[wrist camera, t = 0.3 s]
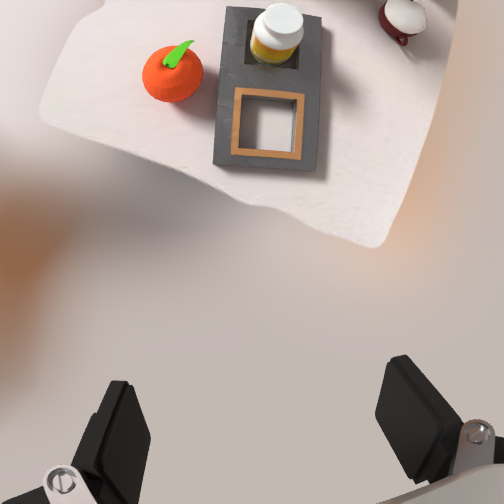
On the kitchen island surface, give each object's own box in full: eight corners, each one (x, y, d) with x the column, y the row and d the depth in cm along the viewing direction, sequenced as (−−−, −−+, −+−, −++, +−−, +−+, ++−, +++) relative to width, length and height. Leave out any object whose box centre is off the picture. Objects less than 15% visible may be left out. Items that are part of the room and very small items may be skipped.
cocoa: (400, 55, 34) (451, 35, 23) (365, 32, 33) (409, 3, 22) (414, 13, 32) (460, -10, 21) (381, -9, 31) (422, -40, 19)
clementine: (175, 42, 32) (166, 19, 25) (220, 65, 33) (219, 45, 27) (139, 92, 33) (122, 78, 27) (184, 117, 35) (175, 106, 28)
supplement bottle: (245, 34, 32) (252, -1, 23) (287, 30, 32) (303, -4, 23) (253, 69, 34) (262, 41, 25) (295, 65, 34) (315, 37, 25)
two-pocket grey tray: (226, 13, 31) (226, 5, 29) (317, 23, 32) (322, 16, 30) (213, 164, 37) (212, 164, 34) (310, 171, 38) (316, 171, 36)
